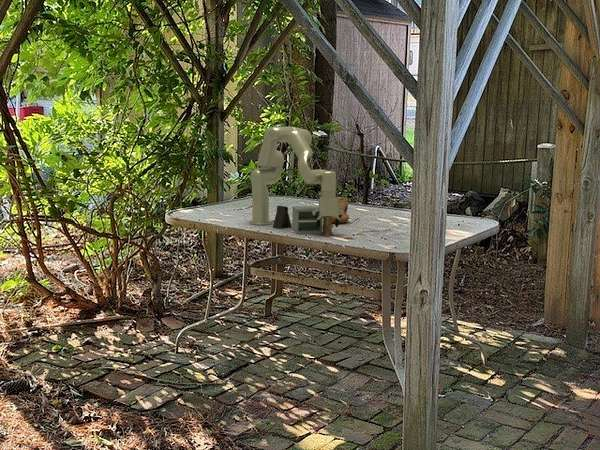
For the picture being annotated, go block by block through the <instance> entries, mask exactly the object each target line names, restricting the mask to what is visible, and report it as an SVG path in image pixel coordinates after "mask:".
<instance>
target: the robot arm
mask: <svg viewBox="0 0 600 450" xmlns="http://www.w3.org/2000/svg"><path fill="white" fill-rule="evenodd" d="M312 141H313V136H312V134H311V132H310V131H309V130H308V129H304V128H300V127H296V126H270V127H268V128H267V129H266V130H265V132H264V134H263V141H262V143H261V144H262V145H261V147H260V150H259V151H260V152H259V154H258V158H257V164H258V166H259V168H255V169H253V170H252V171H251V173H250V182H251V193H252V195H251V199H252V201H251V202H252V204H251V207H252V209H251V215H252V216H251V220H250V221H249V224H250V225H253V226H267V225H272V220H270V218H269V217H270V193H269V188H268V186H267V185H275V184H276V183H277V182H278V181H279V179H280V177H281V174H282V170H283V167H284V162H285V156H284V154H283V152H281V151H280V150H277V149H278V143H289V146H291V148H292V150H293V152H294V154H295V155H296V157H297V159H298V161H297V171H298V174H299V175H300V177H301V179H302V180H303V181H304V183H306V184H307V185H320V187H321V189H320V192H318V196H319V199H318V200H319V201H318V205H317V206H318V208H317V209H315V210H314V211H312V214H313V216H314V217H315V218H316V219H317V226H318V227H319V228H320V218H321V217H333V216H335V217H336V219H335V223H334V226H335V227H336V228H339V224H340V223H339V219H340V218H341V217H342V215H343V213H344V211H343V210H341V209H339V208H338V200H337V196H336V194H337V193H336V191H337V190H336V189H337V187H336V185H337V183H336V182H337V178H336V177H337V173H336V171H334V170H326V169H311V168H310V166H309V164H308V159H309V158H311V157H312V155H313V150H312V148H311V147H310V144H311V143H312ZM317 211H318V216H316V214H315V213H316V212H317ZM338 211H340V212H341V213H340V215H339V216H338Z"/></svg>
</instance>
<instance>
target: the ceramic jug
mask: <svg viewBox="0 0 600 450" xmlns="http://www.w3.org/2000/svg"><path fill="white" fill-rule="evenodd" d="M336 197H337V196H336ZM337 200H338V208H339V209H341V210H343V211H344V213H343V215H342V217H341V218H340V219H339V224H343V223H346V222H348V221H349V220H350V215H349V214H348V209H349V205H348V202H349V201H348V200H349V199H348V198H347V197H341V196H340V197H337ZM340 213H341V212H340V211H338V216H339V215H340ZM335 219H336V217H335V216H333V217H332V224H335Z"/></svg>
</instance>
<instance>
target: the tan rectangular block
mask: <svg viewBox="0 0 600 450" xmlns="http://www.w3.org/2000/svg"><path fill="white" fill-rule="evenodd" d="M333 228H334V225H333V223H332V217H323V218H322V232H323V233H324V234H326V236H325V237H333V236H332V233H333Z"/></svg>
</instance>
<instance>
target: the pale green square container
mask: <svg viewBox="0 0 600 450" xmlns="http://www.w3.org/2000/svg"><path fill="white" fill-rule="evenodd" d="M318 206H319V205H305V206H304V205H300V206H299V205H297V206H296V205H295V206H294V205H293V206H292V217H291V218H292V222H291V226H292V227H291V229H292V231H293V232H294V233H295V234H296V235H298V234H300V235H301V234H302V235H303V234H305V235H306V234H321V235H322V234H323V235H324V236H323V235H322V236H323V237H327V236H326V234H324V233H323V217H321V218H320V228H319V227H318V226H317V219H316V218H315V217H314V216H313V214H312V211H314V210H315V209H317V208H318ZM315 214H316V216H318V211H317V212H316V213H315ZM331 237H335V234H334V233H333V232H332V236H331Z"/></svg>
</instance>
